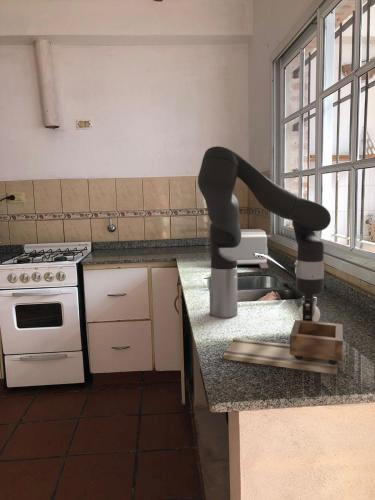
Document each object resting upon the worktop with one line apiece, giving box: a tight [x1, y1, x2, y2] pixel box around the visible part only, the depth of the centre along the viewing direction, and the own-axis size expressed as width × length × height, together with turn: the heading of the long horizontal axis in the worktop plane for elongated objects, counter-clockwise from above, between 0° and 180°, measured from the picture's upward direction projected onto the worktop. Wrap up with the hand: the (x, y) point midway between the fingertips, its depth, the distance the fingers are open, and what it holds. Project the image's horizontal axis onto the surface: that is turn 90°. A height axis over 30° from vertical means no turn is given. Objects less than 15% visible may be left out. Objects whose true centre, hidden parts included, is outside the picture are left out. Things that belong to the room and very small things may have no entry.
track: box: [223, 337, 339, 376], centre depth 102 cm, size 28×12×2 cm, turn 69°
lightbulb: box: [297, 305, 321, 322], centre depth 112 cm, size 6×6×11 cm
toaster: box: [220, 228, 272, 269], centre depth 226 cm, size 19×34×20 cm, turn 89°
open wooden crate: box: [289, 319, 344, 364], centre depth 98 cm, size 12×12×7 cm
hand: (308, 331), depth 113 cm, fingers open, 6 cm apart
